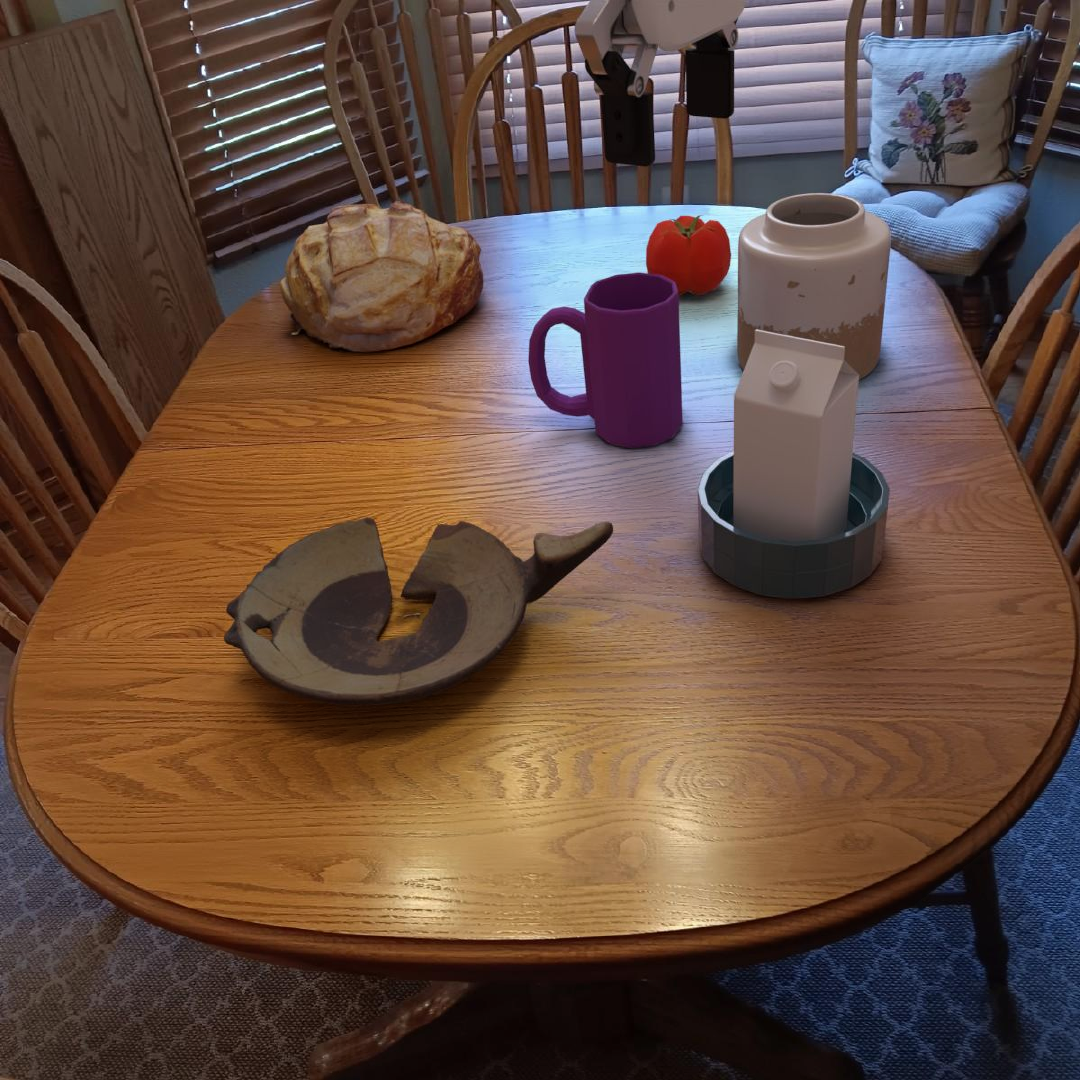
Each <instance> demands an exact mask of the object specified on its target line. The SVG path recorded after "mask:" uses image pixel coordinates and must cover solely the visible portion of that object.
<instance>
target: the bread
mask: <svg viewBox="0 0 1080 1080" xmlns="http://www.w3.org/2000/svg"><path fill="white" fill-rule="evenodd" d="M481 252H482V248H481V246H480V244H479V243H478V242H477V240H476V238H474V236H473V235H472V234H471V232H469V231H467V230H466V229H465V228H463V227H460V226H451V225H449V224H447V223H445V222H442V221H440V220H437V219H434V218H432V217H430V216H428V213H427V211H426V210H424V209H420V208H417V207H415V206H414V205H412V204H410V203H407V202H405V201H403V200H399V199H395V200H394V202H393V203H391V204H390V206H389V207H386V208H381V207H380V206H378V205H376V204H374V203H359V204H344V205H337V206H335V207H333V208H332V209H331V210H330V213H329V214H328V215H327V218H326V221H325V222H324V223H320V224H314V225H309V226H308V227H307V228H306V229H304V232H303V233H302V234H300V235H299V236H298V238H296V239H295V243H294V246H293V248H292V251H291V253H290V254H289V256H288V258H287V260H286V264H285V275H286V276H285V277H284V278H282V279H281V280H280V283H279V286H280V293H281V296H282V297H281V298H282V300H283V302H284V304H285V305H286V307H287V309H288V310H289V311H290V318H291V320H292V321H293V322H294V324H295V326H296V329H297V331H296V332H291V334H290V335H291V336H292V335H298V334H299V333H300V332H301V330H302V331H305V332H306V333H305V334H306V335H307V336H309V337H311V338H314V339H317V341H322V342H323V343H328V347H329V348H334V349H338V348H342V349H344V350H346V351H348V352H361V353H368V352H370V353H371V352H380V351H388V350H393V349H397V348H402V347H405V346H409V345H412V344H415V343H418V342H421V341H423V340H425V339H427V338H430V337H431V336H433V335H435V334H437V333H438V332H440V331H441V330H443V329H444V328H446V327H448V326H452V325H453V324H455V323H456V322H457V321H458V320H460V319H461V318H463V317H464V316H466V315H467V314H468V313H469V312H470V311H472V310H473V308H474V307H475V306H476V304H477V303H478V301H479V300H480V297H481V294H482V292H483V289H484V273H483V270H482V265H481V262H480V256H481Z"/></svg>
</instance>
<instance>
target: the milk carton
mask: <svg viewBox="0 0 1080 1080" xmlns="http://www.w3.org/2000/svg"><path fill="white" fill-rule="evenodd" d="M844 353H845V347H844V346H840V345H835V344H830V343H825V342H819V341H814V340H809V339H804V338H799V337H793V336H788V335H783V334H778V333H773V332H767V331H762V330H757V329H756V330H755V343H754V346H753V348H752V351H751V353H750V356H749V358H748V361H747V364H746V366H745V369H744V370H743V372H742V373H741V377H740V379H739V382H738V384H737V387H736V389H735V391H734V394H733V451H734V498H733V526H734V527H736V528H737V529H739V530H741V531H744V532H748V533H751V534H754V535H757V536H761V537H764V538H770V539H780V540H789V541H802V540H814V539H825V538H828V537H831V536H835V535H838V534H842V533H843V532H844V531H845V530H846V526H847V514H848V502H849V490H850V478H851V466H852V454H853V453H854V441H855V429H856V417H857V405H858V404H857V403H858V395H859V381H860V380H859V374H858V373H857V372H856V371H855V370H854V369H853V368H852V367H851V366H850V365H849V364H848V363H847V362H846V361H845V360H844Z"/></svg>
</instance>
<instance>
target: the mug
mask: <svg viewBox="0 0 1080 1080" xmlns="http://www.w3.org/2000/svg"><path fill="white" fill-rule="evenodd" d="M679 297H680V295H679V294H678V290H677V286H676V283H675V282H674V281H672V280H670V279H668V278H666V277H664V276H662V275H656V274H648V272H647V273H646V272H631V273H630V272H629V273H621V274H620V273H619V274H614V275H612V276H608V277H605V278H601V279H599V280H596V281H594V282H593V283H592V284H591V285H590V286H589V289H588V290H587V292H586V294H585V296H584V298H583V306H584V312H583V311H581V310H580V309H577V308H575V307H570V306H558V307H552V308H551V309H549V310H548V311H547V312H546V313H544V314H543V315H542V317H540V319H539V320H538V321H537V322H536V324H535V325H534V327H533V329H532V332H531V335H530V337H529V341H528V367H529V368H528V369H529V375H530V379H531V384H532V386H533V389H534V391H535V394H536V397H537V398H538V399H539V400H540V401H541V402H542V403H543V404H544V405H545V407H546V406H547V408H548V409H549V410H550V411H553V412H556V413H559V414H561V415H565V416H570V417H577V418H579V417H586V416H587V417H588V416H589V417H590V418H591V419H593V421H594V430H595V434H596V435H597V436H599V437H600V438H601V439H603V440H604V441H605V442H607V443H608V444H610V445H613V446H619V447H622V448H623V447H624V448H629V449H633V448H635V449H636V448H644V447H645V448H647V447H654V446H657V445H658V444H661V443H663V442H666V441H668V440H671V439H672V438H673V437H674V436H675V435H676V434H677V433H678V432H679V431H680V429H681V428H682V427H683V425H684V424H683V423H684V422H683V420H684V419H683V394H682V390H683V389H682V388H683V387H682V363H681V362H682V361H681V358H682V357H681V327H680V326H681V325H680V298H679ZM561 324H563V325H565V326H567V327H569V328H571V329H572V330H573V331H575V332H577V334H579V338H580V347H581V357H582V366H583V367H582V368H583V376H584V385H585V393H581V394H576V395H573V396H569V395H566V394H564V393H561V392H559V391H558V390H557V389H555V388H554V387H553V386H552V385H551V382H550V380H549V376H548V370H547V364H546V339H547V335H548V333H549V331H550V330H551V328H553V327H554V326H555V325H561Z"/></svg>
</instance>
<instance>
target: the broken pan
mask: <svg viewBox="0 0 1080 1080" xmlns="http://www.w3.org/2000/svg"><path fill="white" fill-rule="evenodd" d="M613 533H614V525H613V523H612V522H610V521H601V522H598V523H595V524H594V525H591V526H589V527H588V528H585V529H583V530H581V531H579V532H576V533H573V534H570V535H555V534H550V533H544V532H538V533H536V534H535V536H534V537H533V554H532V555H531V556H530V557H529V558H528V559H526V560H523V559H522V558H521V557H519V556H517V555H516V554H514V553H513V552H512V551H511V549H510V547H507V545H506V544H505V543H504V542H503V541H501V540H500V539H499V538H498V537H497V536H496V535H494V534H492V533H490V532H488V531H486V530H485V529H483V528H481V527H480V526H478V525H475V524H474V523H471V522H466V521H465V520H459V521H458V523H456V524H447V523H440V524H437V526H435V528H434V530H433V532H432V534H431V537H430V538H429V540H428V543H427V545H426V547H425V549H424V551H423V552H422V553H421V555H420V556H419V558H418V561H417V564H416V565H415V566H414V568H413V570H412V572H410V574H409V575H410V576H409V577H408V579H407V580H406V582H405V583H404V586H403V587H402V590H401V592H400V593H401V594H400V598H402V599H405V600H416V601H420V600H427V601H429V600H431V599H432V598H435V599H434V601H433V603H432V605H431V606H430V608H429V611H428V613H426V614H425V616H424V618H422V622H421V625H420V627H419V628H418V629H417V631H416V632H414V633H411V634H408V635H402V636H400V637H394V638H389V639H387V640H383V641H382V640H381V641H378V637H379V636H380V634H381V633H382V630H383V628H384V627H385V625H386V623H387V622H388V619H389V616H390V615H391V611H392V609H393V608H392V603H393V597H394V596H393V593H392V583H391V580H390V576H389V570H388V569H389V567H388V565H387V562H386V559H385V557H384V549H383V545H382V542H381V538H380V532H379V529H378V525H377V523H376V521H375V519H374V518H372V517H369V516H366V517H363V518H359V519H356V520H347V521H344V522H339V523H335V524H334V525H331V526H330V527H327V528H324V529H321V530H319V531H318V530H317V531H315V532H311V533H309V534H307V535H305V536H304V537H301V538H299V539H298V540H296V541H294V542H293V543H291V544H289V545H288V546H287V547H285V548H284V549H283V550H282V551H280V552H279V553H278V554H276V556H275V557H274V558H272V559H271V560H269V562H268V563H266V564H265V565H263V568H262V570H260V571H258V572H256V574H255V576H254V577H253V579H252V580H251V582H250V583H248V584H246V588H245V589H244V590H243V591H242V592H241V593H240V594H239V595H238V596H237V597H235V598H234V599H232V600H231V601H229V602H228V603H227V605H226V609H225V611H226V613H227V615H229V617H231V618H232V619H233V620H234V621H233V622H232V624H231V626H230V627H229V629H228V630H227V631H225V632H224V635H223V641H224V642H225V644H227V646H228V645H229V646H232V647H233V648H237V649H239V650H241V651H242V653H243V656H244V657H245V659H246V660H247V663H249V665H250V666H251V668H253V670H255V671H256V673H257V674H258V675H259V676H260V677H262V678H263V679H264V680H265V681H267V682H268V683H269V684H271V685H272V686H274V687H276V688H278V689H279V690H281V691H284V692H286V693H288V694H291V695H294V696H296V697H299V698H303V699H306V700H309V701H313V702H317V703H323V704H327V705H338V706H347V707H349V706H350V707H352V706H354V707H355V706H359V707H360V706H376V705H388V704H397V703H406V702H410V701H416V700H421V699H424V698H426V697H427V698H428V697H429V696H432V695H435V694H438V693H441V692H443V691H446V690H448V689H451V688H453V687H456V686H457V685H459V684H461V683H463V682H464V681H467V680H468V679H470V678H471V677H473V676H474V675H477V673H479V672H480V671H481V670H483V669H484V668H485V667H487V666H488V665H489V664H490V663H492V662H493V661H494V660H495V659H496V658H497V657H498V656H500V655H501V653H502V652H503V651H505V649H506V648H507V647H508V646H509V645H510V643H511V642H512V641H513V639H514V638H515V637H516V635H517V633H518V632H519V629H520V627H521V625H522V623H523V620H524V618H525V615H526V609H527V605H528V604H531V603H534V602H537V601H538V600H539V599H541V598H543V597H544V596H545V595H547V594H548V593H549V592H550V590H552V589H553V588H554V587H555V586H556V585H558V584H559V583H560V582H561V581H562V580H564V579H565V578H566V577H567V576H568V575H570V574H571V573H572V572H573V571H574V570H575V569H576V568H578V567H579V566H580V565H581V564H583V563H584V562H585V561H587V559H589V558H590V557H591V556H592V555H593V554H594V553H596V552H597V551H598V550H599V549H600V548H602V547H603V546H604V545H605V544H606V543H607V542H608V541H609V539H611V537H612V535H613ZM415 615H419V616H421V613H420V612H416V613H412V614H410V616H415ZM408 616H409V614H405V615H403V616H402V618H404V617H408ZM262 629H263V630H264V629H269V631H270V633H271V638H270V639H269V638H267V637H265V636H262V635H260V634H258V631H259V630H262Z"/></svg>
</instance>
